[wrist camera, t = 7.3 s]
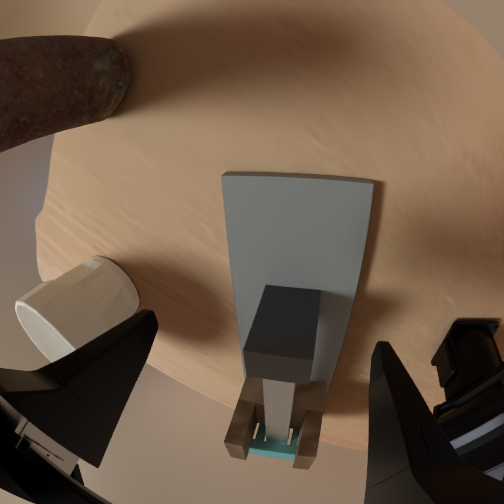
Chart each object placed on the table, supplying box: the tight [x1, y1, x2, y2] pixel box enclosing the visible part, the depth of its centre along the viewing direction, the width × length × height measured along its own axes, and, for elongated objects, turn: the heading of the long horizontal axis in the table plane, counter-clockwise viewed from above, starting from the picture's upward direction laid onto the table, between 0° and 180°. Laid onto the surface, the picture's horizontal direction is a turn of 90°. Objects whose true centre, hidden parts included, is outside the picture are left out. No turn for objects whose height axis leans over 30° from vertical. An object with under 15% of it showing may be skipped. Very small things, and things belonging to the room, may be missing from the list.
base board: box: [221, 172, 374, 401], centre depth 26 cm, size 10×33×1 cm, turn 3°
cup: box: [15, 256, 140, 362], centre depth 25 cm, size 12×12×11 cm
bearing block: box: [224, 376, 326, 469], centre depth 27 cm, size 9×6×10 cm, turn 93°
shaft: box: [243, 285, 321, 445], centre depth 25 cm, size 4×23×7 cm, turn 3°
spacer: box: [248, 423, 300, 460], centre depth 28 cm, size 8×3×5 cm, turn 93°
